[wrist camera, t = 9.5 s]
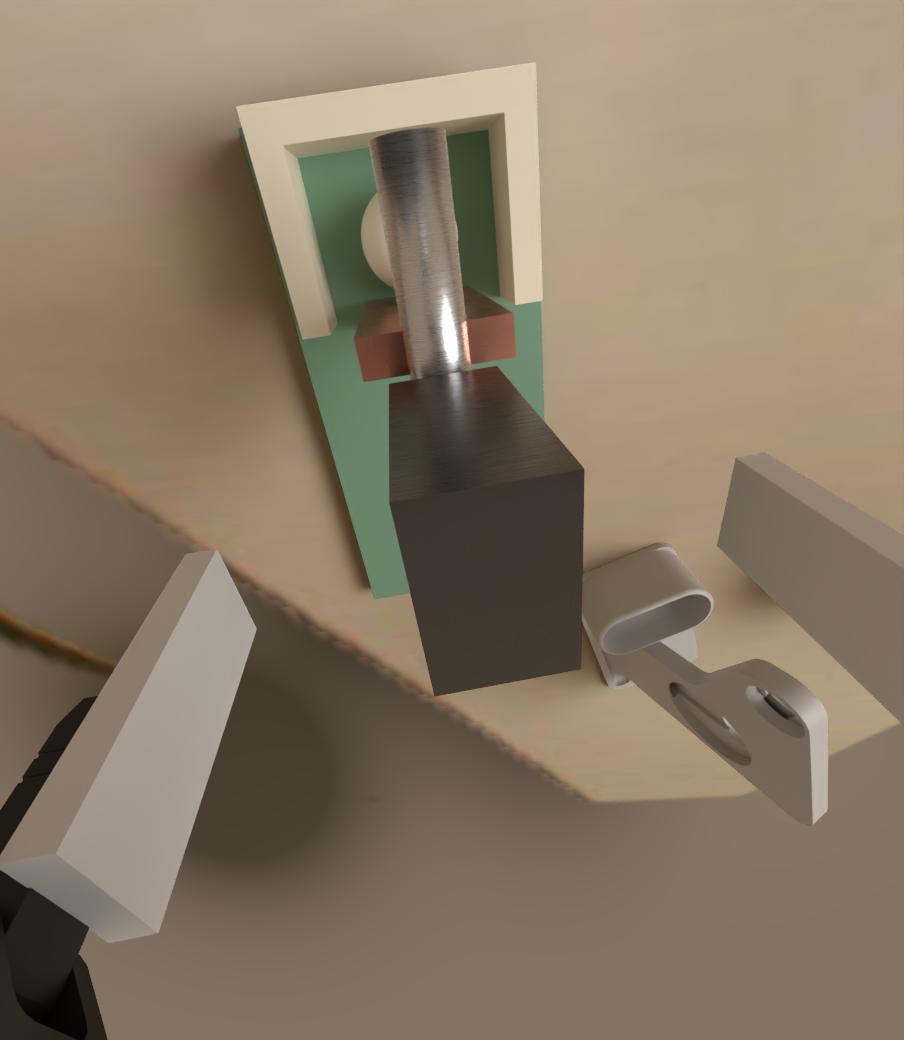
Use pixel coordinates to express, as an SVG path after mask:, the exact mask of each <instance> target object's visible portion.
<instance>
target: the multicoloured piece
mask: <svg viewBox="0 0 904 1040" xmlns="http://www.w3.org/2000/svg"><path fill="white" fill-rule="evenodd" d="M368 144H369V150H370V155H371V161H372V166H373V172H374V178H375V183H376V189H377V194H378V200H379V206H380V211H381V217H382V222H383V228H384V234H385V239H386V245H387V250H388V256H389V262H390V267H391V273H392V278H393V284H394V290H395V295H396V297H391V298H384V299H378V300H372V301H366V304H365V307H364V310H363V313H362V316H361V319H360V322H359V325H358V327H357V330H356V333H355V336H354V343H355V347H356V352H357V356H358V360H359V365H360V369H361V373H362V378H363V382H369V381H375V380H381V379H387V378H393V377H399V376H405V375H410V379H411V380H408V381H402V382H396V383H390V384H389V504H390V508H391V513H392V517H393V521H394V525H395V530H396V534H397V538H398V543H399V547H400V551H401V555H402V560H403V564H404V568H405V572H406V577H407V581H408V585H409V589H410V594H411V598H412V602H413V606H414V611H415V615H416V619H417V624H418V628H419V632H420V636H421V641H422V645H423V649H424V653H425V658H426V662H427V666H428V670H429V675H430V679H431V683H432V687H433V692H434V696H439V695H445V694H450V693H456V692H461V691H466V690H472V689H477V688H482V687H488V686H493V685H498V684H504V683H509V682H514V681H520V680H525V679H530V678H536V677H541V676H547V675H552V674H557V673H563V672H568V671H573V670H579V669H581V638H582V578H583V519H584V468H583V467H582V465H581V464H580V463H579V462H578V461H577V460H576V458H575V457H574V456H573V455H572V454H571V453H570V451H569V450H568V449H567V448H566V447H565V445H564V444H563V443H562V442H561V441H560V440H559V438H558V437H557V436H556V435H555V434H554V432H553V431H552V430H551V429H550V428H549V427H548V425H547V424H546V423H545V422H544V421H543V420H542V418H541V417H540V416H539V415H538V414H537V412H536V411H535V410H534V409H533V408H532V407H531V405H530V404H529V403H528V402H527V401H526V399H525V398H524V397H523V396H522V395H521V394H520V392H519V391H518V390H517V389H516V388H515V387H514V385H513V384H512V383H511V382H510V381H509V379H508V378H507V377H506V376H505V375H504V374H503V372H502V371H501V370H500V369H499V368H498V366H493V367H487V368H481V369H475V370H472V369H471V364H477V363H483V362H489V361H495V360H501V359H507V358H514V357H516V344H515V327H514V313H513V312H511V311H510V310H508V309H506V308H505V307H503V306H501V305H500V304H498V303H496V302H495V301H493V300H491V299H490V298H488V297H486V296H485V295H483V294H481V293H480V292H478V291H476V290H475V289H473V288H471V287H470V286H468V285H465V286H462V277H461V268H460V259H459V250H458V241H457V232H456V223H455V213H454V204H453V195H452V186H451V177H450V168H449V159H448V149H447V140H446V131H445V129H443V128H435V127H429V128H416V129H408V130H402V131H397V132H392V133H388V134H385V135H381V136H378V137H376V138H373V139H371V140H370V141H369V142H368Z"/></svg>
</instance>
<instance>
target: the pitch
mask: <svg viewBox="0 0 904 1040" xmlns="http://www.w3.org/2000/svg"><path fill="white" fill-rule="evenodd" d="M236 108H237V112H238V115H239V119H240V122H241V126H242V128H238V130H239V133H240V137H241V140H242V144H243V147H244V151H245V154H246V158H247V161H248V165H249V168H250V171H251V175H252V178H253V182H254V185H255V189H256V192H257V196H258V199H259V202H260V206H261V209H262V213H263V216H264V220H265V223H266V227H267V230H268V234H269V237H270V240H271V244H272V247H273V251H274V254H275V258H276V261H277V265H278V268H279V272H280V275H281V278H282V282H283V285H284V289H285V292H286V296H287V299H288V303H289V306H290V309H291V313H292V316H293V320H294V323H295V327H296V330H297V334H298V337H299V341H300V344H301V347H302V351H303V354H304V358H305V361H306V365H307V368H308V372H309V375H310V379H311V382H312V385H313V389H314V392H315V396H316V399H317V403H318V406H319V410H320V413H321V416H322V420H323V423H324V427H325V430H326V434H327V437H328V441H329V444H330V448H331V451H332V454H333V458H334V461H335V465H336V468H337V472H338V475H339V479H340V482H341V486H342V489H343V492H344V496H345V499H346V503H347V506H348V510H349V513H350V517H351V520H352V523H353V527H354V530H355V534H356V537H357V541H358V544H359V548H360V551H361V555H362V558H363V561H364V565H365V568H366V572H367V575H368V579H369V582H370V586H371V589H372V593H373V596H374V599H379V598H384V597H390V596H396V595H401V594H407V593H410V589H409V585H408V581H407V577H406V572H405V568H404V564H403V560H402V555H401V551H400V547H399V543H398V538H397V534H396V530H395V525H394V521H393V517H392V513H391V508H390V504H389V384H390V383H396V382H402V381H408V380H411V379H410V375H405V376H399V377H393V378H387V379H381V380H375V381H369V382H363V378H362V373H361V369H360V365H359V360H358V356H357V352H356V347H355V343H354V336H355V333H356V330H357V327H358V325H359V322H360V319H361V316H362V313H363V310H364V307H365V304H366V301H372V300H378V299H384V298H391V297H396V295H395V290H394V288H392V287H390V286H388V285H387V284H385V283H384V282H383V281H382V280H381V279H379V278H378V277H377V275H376V274H375V273H374V272H373V270H372V269H371V267H370V266H369V264H368V262H367V260H366V257H365V255H364V251H363V247H362V241H361V226H362V220H363V216H364V213H365V210H366V208H367V206H368V204H369V202H370V200H371V199H372V198H373V196H374V195H375V194H376V193H377V189H376V183H375V178H374V172H373V166H372V161H371V155H370V150H369V144H368V142H369V141H370V140H371V139H373V138H376V137H378V136H381V135H385V134H388V133H392V132H397V131H402V130H408V129H416V128H429V127H435V128H443V129H445V131H446V140H447V149H448V159H449V168H450V177H451V186H452V195H453V204H454V213H455V221H456V225H457V230H458V250H459V259H460V268H461V277H462V286H465V285H468V286H470V287H471V288H473V289H475V290H476V291H478V292H480V293H481V294H483V295H485V296H486V297H488V298H490V299H491V300H493V301H495V302H496V303H498V304H500V305H501V306H503V307H505V308H506V309H508V310H510V311H511V312H513V313H514V327H515V344H516V357H514V358H507V359H501V360H495V361H489V362H483V363H477V364H471V369H472V370H475V369H481V368H487V367H493V366H498V368H499V369H500V370H501V371H502V372H503V374H504V375H505V376H506V377H507V378H508V379H509V381H510V382H511V383H512V384H513V385H514V387H515V388H516V389H517V390H518V391H519V392H520V394H521V395H522V396H523V397H524V398H525V399H526V401H527V402H528V403H529V404H530V405H531V407H532V408H533V409H534V410H535V411H536V412H537V414H538V415H539V416H540V417H541V418H542V420H543V421H544V391H543V358H542V326H541V301H543V293H542V258H541V223H540V188H539V154H538V119H537V84H536V62H534V63H527V64H520V65H513V66H506V67H500V68H493V69H486V70H479V71H472V72H466V73H459V74H452V75H445V76H438V77H432V78H425V79H418V80H411V81H404V82H398V83H391V84H384V85H377V86H370V87H364V88H357V89H350V90H343V91H336V92H330V93H323V94H316V95H309V96H302V97H296V98H289V99H282V100H275V101H268V102H262V103H255V104H248V105H241V106H236Z"/></svg>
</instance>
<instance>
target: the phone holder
mask: <svg viewBox="0 0 904 1040" xmlns="http://www.w3.org/2000/svg"><path fill="white" fill-rule="evenodd" d="M712 609H713V598H712V596H711V594H710V593H709V592H708V591H707V590H706V589H705V587H704V586H703V585H702V584H701V583H700V582H699V581H698V580H697V579H696V578H695V576H694V575H693V574H692V573H691V572H690V571H689V570H688V569H687V568H686V566H685V565H684V564H683V563H682V562H681V561H680V560H679V559H678V558H677V554H676V551H675V550H674V549H673V548H672V547H671V546H670V545H669V544H667V543H656V544H654V545H651V546H649V547H646V548H644V549H642V550H639V551H637V552H634V553H632V554H630V555H627V556H625V557H622V558H620V559H617V560H615V561H613V562H610V563H608V564H605V565H603V566H601V567H598V568H596V569H593V570H591V571H588V572H586V573H584V574H583V578H582V623H583V626H584V628H585V631H586V633H587V635H588V638H589V640H590V643H591V645H592V648H593V650H594V653H595V655H596V658H597V660H598V663H599V665H600V668H601V670H602V673H603V675H604V677H605V680H606V682H607V684H608V686H609V688H611V689H613V690H621V689H624V688H627V687H630V686H632V685H635V684H636V685H637V686H638V687H639V688H640V689H641V690H643V691H644V692H645V693H646V694H647V695H648V696H650V697H651V698H652V699H653V700H654V701H656V702H657V703H658V704H659V705H660V706H661V707H663V708H664V709H665V710H666V711H667V712H668V713H670V714H671V715H672V716H673V717H674V718H676V719H677V720H678V721H679V722H680V723H681V724H683V725H684V726H685V727H686V728H687V729H688V730H690V731H691V732H692V733H693V734H694V735H695V736H697V737H698V738H699V739H700V740H701V741H703V742H704V743H705V744H706V745H707V746H708V747H710V748H711V749H712V750H713V751H714V752H715V753H717V754H718V755H719V756H720V757H721V758H722V759H724V760H725V761H726V762H727V763H728V764H730V765H731V766H732V767H733V768H734V769H735V770H737V771H738V772H739V773H740V774H741V775H742V776H744V777H745V778H746V779H747V780H748V781H750V782H751V783H752V784H753V785H754V786H755V787H757V788H758V789H759V790H760V791H762V793H764V794H765V795H766V796H767V797H768V798H769V799H771V800H772V801H773V802H774V803H775V804H777V805H778V806H779V807H780V808H781V809H782V810H784V811H785V812H786V813H787V814H788V815H790V816H791V817H793V818H794V819H795V820H797V821H798V822H800V823H802V824H804V825H806V826H812V825H813V824H814V823H815V822H816V821H817V820H818V819H819V818H820V817H821V816H822V815H823V814H824V813H825V812H826V811H827V808H828V799H827V798H828V716H827V712H826V710H825V708H824V707H823V705H822V703H821V702H820V701H819V700H818V698H817V697H816V696H815V695H814V694H813V693H812V692H811V691H810V690H809V689H808V688H807V687H806V686H805V685H803V684H802V683H801V682H800V681H798V680H797V679H795V678H794V677H792V676H791V675H789V674H788V673H786V672H784V671H783V670H781V669H779V668H778V667H776V666H775V665H773V664H771V663H769V662H767V661H764V660H761V659H752V660H749V661H746V662H743V663H740V664H737V665H734V666H730V667H727V668H724V669H721V670H718V671H715V672H712V673H707V672H704V671H702V670H700V669H699V668H697V667H696V666H695V665H693V664H692V662H693V661H694V660H695V659H696V658H697V656H698V649H697V644H696V640H695V635H694V631H693V628H695V627H697V626H698V625H700V624H701V623H702V622H704V621H705V620H706V619H707V618H708V616H709V615H710V613H711V612H712ZM728 722H729V723H728ZM732 727H733V728H734V729H735V730H734V729H733V728H732Z"/></svg>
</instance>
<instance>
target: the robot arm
mask: <svg viewBox="0 0 904 1040" xmlns="http://www.w3.org/2000/svg"><path fill="white" fill-rule="evenodd" d="M717 546H718V547H719V548H720V549H721V550H722V551H723V552H724V553H725V554H726V555H727V556H728V557H729V558H730V559H731V560H732V561H733V562H734V563H735V564H737V565H738V566H739V567H740V568H741V569H742V570H743V571H744V572H745V573H746V574H747V575H748V576H749V577H750V578H751V579H752V580H753V581H754V582H755V583H756V584H757V585H758V586H759V587H760V588H761V589H762V590H764V591H765V592H766V593H767V594H768V595H769V596H770V597H771V598H772V599H773V600H774V601H775V602H776V603H777V604H778V605H779V606H780V607H781V608H782V609H783V610H784V611H785V612H786V613H787V614H788V615H790V616H791V617H792V618H793V619H794V620H795V621H796V622H797V623H798V624H799V625H800V626H801V627H802V628H803V629H804V630H805V631H806V632H807V633H808V634H809V635H810V636H811V637H812V638H813V639H814V640H815V641H817V642H818V643H819V644H820V645H821V646H822V647H823V648H824V649H825V650H826V651H827V652H828V653H829V654H830V655H831V656H832V657H833V658H834V659H835V660H836V661H837V662H838V663H839V664H840V665H841V666H843V667H844V668H845V669H846V670H847V671H848V672H849V673H850V674H851V675H852V676H853V677H854V678H855V679H856V680H857V681H858V682H859V683H860V684H861V685H862V686H863V687H864V688H865V689H866V690H867V691H868V692H870V693H871V694H872V695H873V696H874V697H875V698H876V699H877V700H878V701H879V702H880V703H881V704H882V705H883V706H884V707H885V708H886V709H887V710H888V711H889V712H890V713H891V714H892V715H893V716H894V717H896V718H897V719H898V720H899V721H900V722H901V723H902V724H903V725H904V535H902V534H901V533H899V532H897V531H895V530H894V529H892V528H890V527H889V526H887V525H885V524H884V523H882V522H880V521H879V520H877V519H875V518H874V517H872V516H870V515H869V514H867V513H865V512H864V511H862V510H860V509H858V508H857V507H855V506H853V505H852V504H850V503H848V502H847V501H845V500H843V499H842V498H840V497H838V496H837V495H835V494H833V493H832V492H830V491H828V490H827V489H825V488H823V487H822V486H820V485H818V484H816V483H815V482H813V481H811V480H810V479H808V478H806V477H805V476H803V475H801V474H800V473H798V472H796V471H795V470H793V469H791V468H790V467H788V466H786V465H785V464H783V463H781V462H779V461H778V460H776V459H774V458H773V457H771V456H769V455H768V454H766V453H762V454H756V455H750V456H745V457H739V458H736V460H735V464H734V469H733V474H732V478H731V483H730V488H729V492H728V497H727V502H726V506H725V511H724V516H723V520H722V525H721V530H720V535H719V539H718V544H717ZM256 629H257V628H256V627H255V625H254V622H253V620H252V618H251V616H250V615H249V613H248V611H247V608H246V606H245V604H244V602H243V600H242V598H241V596H240V594H239V592H238V590H237V588H236V586H235V584H234V582H233V580H232V578H231V576H230V574H229V572H228V570H227V568H226V566H225V564H224V562H223V560H222V558H221V556H220V554H219V552H218V550H217V549H213V550H207V551H201V552H196V553H190V554H185V556H184V557H183V559H182V561H181V562H180V564H179V566H178V567H177V569H176V570H175V572H174V574H173V575H172V577H171V579H170V580H169V582H168V584H167V585H166V587H165V588H164V590H163V592H162V593H161V595H160V597H159V598H158V600H157V601H156V603H155V605H154V606H153V608H152V609H151V611H150V613H149V614H148V616H147V618H146V619H145V621H144V622H143V624H142V626H141V627H140V629H139V631H138V632H137V634H136V636H135V637H134V639H133V640H132V642H131V644H130V645H129V647H128V648H127V650H126V652H125V653H124V655H123V657H122V658H121V660H120V661H119V663H118V665H117V666H116V668H115V670H114V671H113V673H112V674H111V676H110V678H109V679H108V681H107V683H106V684H105V686H104V687H103V689H102V691H101V692H100V694H99V696H95V697H90V698H84V699H83V700H82V701H81V702H80V703H79V704H78V705H77V706H76V707H75V708H74V709H73V710H72V711H71V712H70V713H69V714H68V715H66V717H64V718H63V719H62V720H61V721H60V722H59V723H58V724H57V726H56V727H55V729H54V730H53V732H52V733H51V735H50V736H49V738H48V739H47V741H46V742H45V744H44V745H43V747H42V748H41V750H40V751H39V753H38V754H39V757H38V758H36V759H34V760H33V762H32V763H31V765H30V766H29V768H28V769H27V771H26V772H25V774H24V776H23V781H22V783H18V784H17V786H16V787H15V789H14V791H13V792H12V794H11V795H10V796H9V798H8V800H7V801H6V802H5V804H4V805H3V807H2V809H1V810H0V1040H107V1036H106V1032H105V1029H104V1025H103V1021H102V1018H101V1014H100V1010H99V1007H98V1003H97V999H96V996H95V992H94V989H93V985H92V981H91V978H90V975H89V970H88V967H87V965H86V963H85V962H84V960H83V959H82V958H81V956H80V955H79V954H78V953H79V951H80V948H81V946H82V944H83V941H84V939H85V937H86V934H87V932H88V930H90V931H92V932H94V933H95V934H96V935H98V936H99V937H101V938H102V939H104V940H105V941H107V942H108V943H112V942H117V941H122V940H127V939H132V938H137V937H142V936H147V935H152V934H157V933H158V932H159V929H160V926H161V923H162V920H163V917H164V914H165V911H166V908H167V904H168V901H169V898H170V895H171V892H172V889H173V886H174V883H175V880H176V876H177V873H178V870H179V867H180V864H181V861H182V858H183V855H184V852H185V849H186V846H187V842H188V839H189V836H190V833H191V830H192V827H193V824H194V821H195V818H196V815H197V812H198V808H199V806H200V802H201V799H202V796H203V793H204V790H205V787H206V783H207V780H208V778H209V775H210V772H211V768H212V765H213V762H214V759H215V756H216V753H217V750H218V747H219V744H220V741H221V737H222V734H223V731H224V728H225V725H226V722H227V719H228V716H229V712H230V710H231V707H232V704H233V700H234V697H235V694H236V691H237V688H238V685H239V682H240V679H241V676H242V673H243V670H244V666H245V663H246V660H247V657H248V654H249V651H250V648H251V645H252V642H253V638H254V635H255V632H256Z"/></svg>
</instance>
